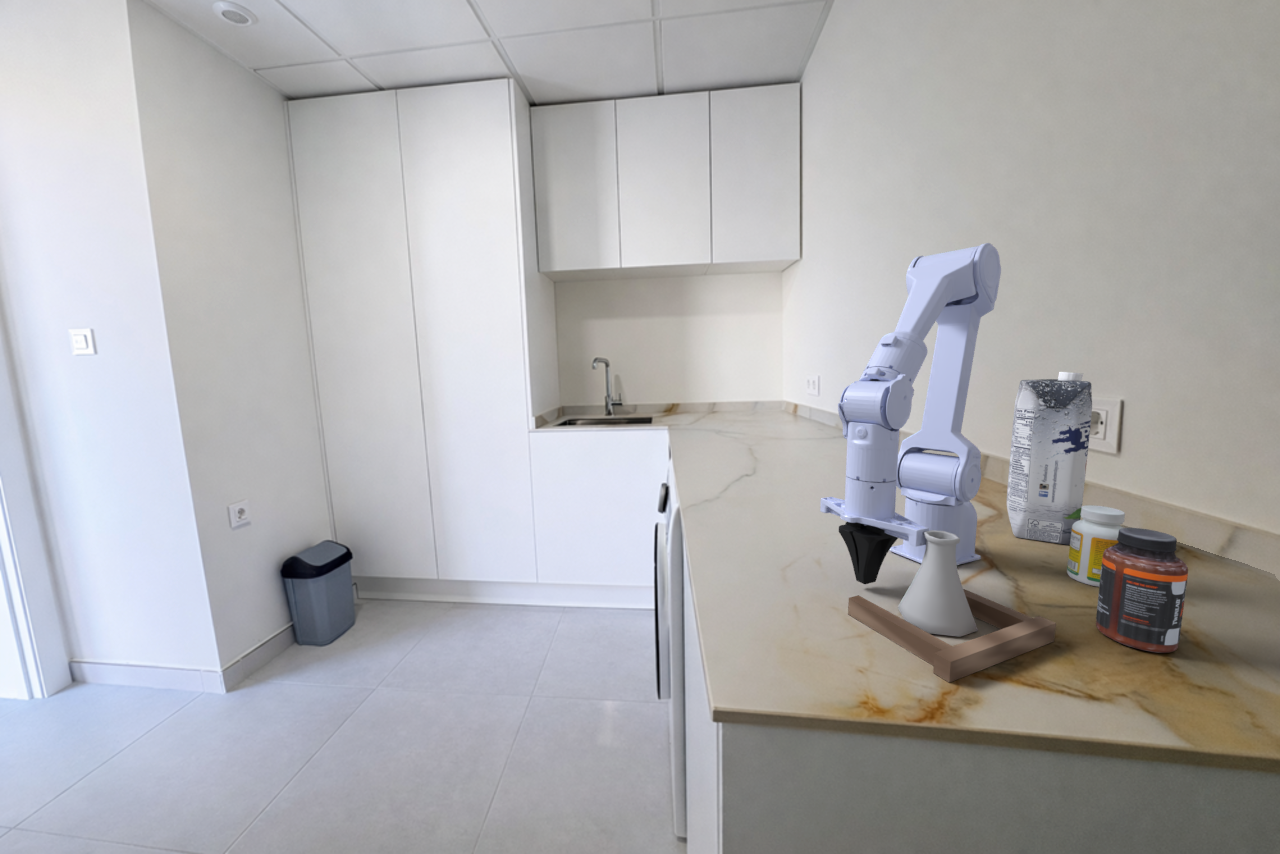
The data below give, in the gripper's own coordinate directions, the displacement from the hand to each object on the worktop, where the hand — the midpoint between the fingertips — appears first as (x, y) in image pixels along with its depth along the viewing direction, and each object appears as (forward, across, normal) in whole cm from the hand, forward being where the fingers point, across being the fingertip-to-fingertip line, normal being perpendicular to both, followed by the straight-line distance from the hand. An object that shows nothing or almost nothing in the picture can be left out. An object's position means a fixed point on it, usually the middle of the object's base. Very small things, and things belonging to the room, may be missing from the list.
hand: (865, 581), depth 60 cm
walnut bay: (+1, +9, 0) cm, 9 cm away
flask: (+1, +9, +1) cm, 9 cm away
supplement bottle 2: (+1, +20, +16) cm, 25 cm away
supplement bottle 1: (+1, +11, +29) cm, 31 cm away
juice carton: (+1, -2, +42) cm, 42 cm away
